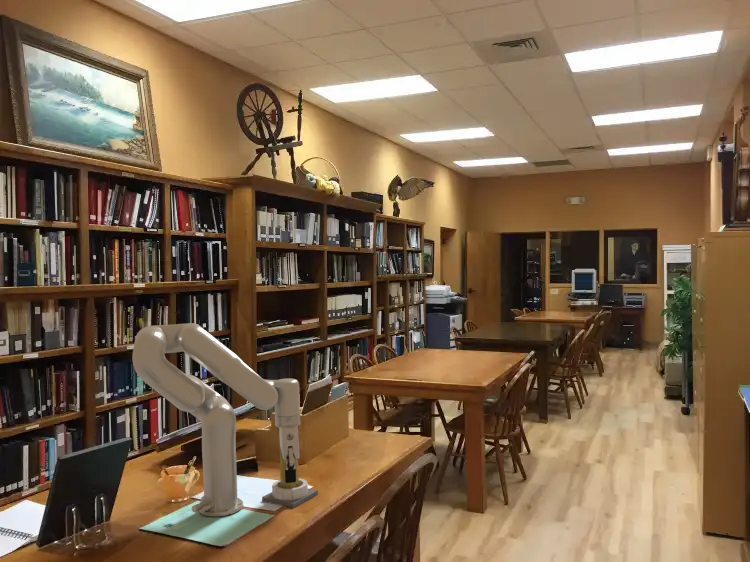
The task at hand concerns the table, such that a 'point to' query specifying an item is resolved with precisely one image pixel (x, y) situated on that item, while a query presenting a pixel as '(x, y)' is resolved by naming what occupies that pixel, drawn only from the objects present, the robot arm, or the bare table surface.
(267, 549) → the table surface
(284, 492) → the mount
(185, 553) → the table surface
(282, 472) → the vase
